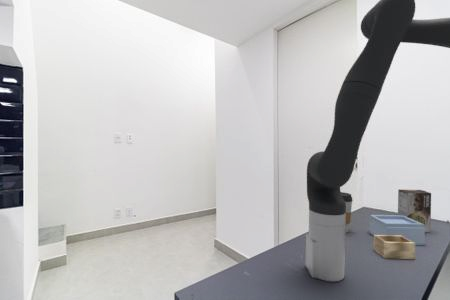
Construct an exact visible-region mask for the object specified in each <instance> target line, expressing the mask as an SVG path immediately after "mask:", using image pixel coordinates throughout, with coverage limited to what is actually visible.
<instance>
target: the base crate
mask: <svg viewBox="0 0 450 300" xmlns="http://www.w3.org/2000/svg"><path fill="white" fill-rule="evenodd" d="M368 233H369V234H370V235H372V236H373V237H374V235H402V236H403V237H405V238H407V239H409V240H411V241H412V242H414V243H415V246H426V243H425V241H426V239H425V237H426V232H425V228H424V224H422V223H420V222H417V221H415V220H413V219H410V218H408V217H406V216H400V215H398V214H397V215H393V214H390V215H389V214H388V215H387V214H370V215H369V218H368Z"/></svg>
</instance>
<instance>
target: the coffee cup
mask: <svg viewBox="0 0 450 300" xmlns="http://www.w3.org/2000/svg"><path fill="white" fill-rule="evenodd" d="M340 192H341V195H342V197H343V199H344V201H345V203H346V222H345V234H348V233H349V231H350V227H351V225H350V224H351V219H352V218H351V217H352V205H353V197H352V194H351V193H348V192H344V191H343V192H342V191H340Z"/></svg>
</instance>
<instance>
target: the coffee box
mask: <svg viewBox="0 0 450 300" xmlns="http://www.w3.org/2000/svg"><path fill="white" fill-rule="evenodd" d="M397 195H398V197H397V202H398V203H397V215H400V216H406V217H408V218H410V219H413V220H415V221H417V222H420V223H422V224H424V228H425V233H431V226H432V225H431V223H432V222H431V221H432V219H431V218H432V217H431V216H432V193H431V192H430V191H429V192H428V191H426V190H422V189H398V194H397Z"/></svg>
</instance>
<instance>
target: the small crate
mask: <svg viewBox="0 0 450 300" xmlns="http://www.w3.org/2000/svg"><path fill="white" fill-rule="evenodd" d="M373 250H374V252H376V253H377V254H378V255H380V256H381V257H383V258H384V259H390V260H391V259H393V260H394V259H396V260H397V259H398V260H416V245H415V243H414V242H412V241H411V240H409V239H407V238H405V237H403V236H402V235H374V236H373Z"/></svg>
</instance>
